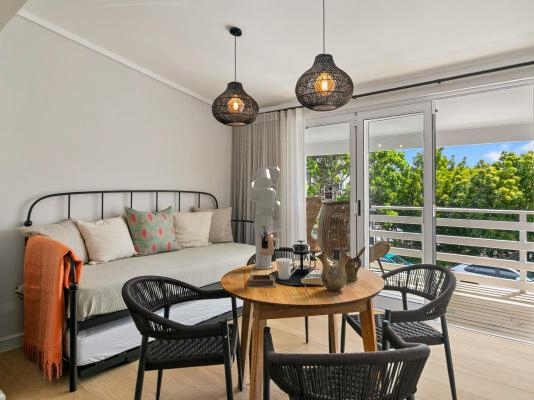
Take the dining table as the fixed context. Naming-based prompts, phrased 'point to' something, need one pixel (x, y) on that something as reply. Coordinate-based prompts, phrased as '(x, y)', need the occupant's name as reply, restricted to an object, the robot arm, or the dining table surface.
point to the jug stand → (261, 281)
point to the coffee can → (339, 253)
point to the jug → (269, 246)
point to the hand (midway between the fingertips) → (266, 247)
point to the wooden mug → (353, 267)
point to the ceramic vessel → (333, 269)
